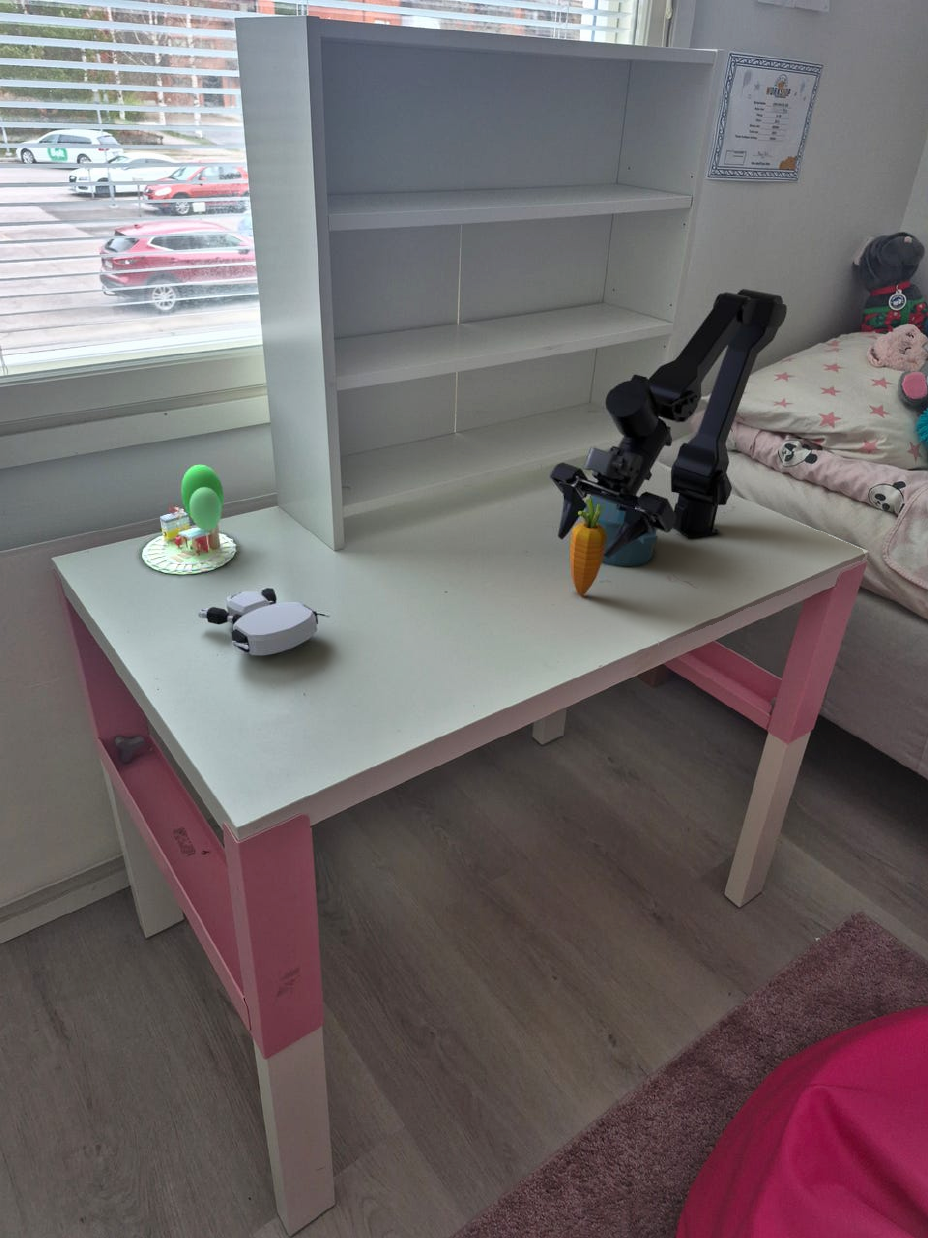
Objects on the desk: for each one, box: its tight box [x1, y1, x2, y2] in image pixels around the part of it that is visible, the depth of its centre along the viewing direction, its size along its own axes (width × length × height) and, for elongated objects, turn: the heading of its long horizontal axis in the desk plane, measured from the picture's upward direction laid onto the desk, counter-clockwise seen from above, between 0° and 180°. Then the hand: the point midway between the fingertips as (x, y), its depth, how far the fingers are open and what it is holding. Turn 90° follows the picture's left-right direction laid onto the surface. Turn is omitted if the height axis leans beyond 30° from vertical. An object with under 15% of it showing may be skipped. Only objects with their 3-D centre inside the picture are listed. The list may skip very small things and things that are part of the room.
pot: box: [583, 494, 658, 567], centre depth 139 cm, size 11×17×7 cm
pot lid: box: [584, 495, 640, 527], centre depth 137 cm, size 12×12×4 cm
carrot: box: [569, 497, 607, 597], centre depth 123 cm, size 5×5×15 cm
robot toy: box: [197, 587, 331, 656], centre depth 113 cm, size 12×4×15 cm
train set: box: [141, 464, 237, 575], centre depth 130 cm, size 15×14×14 cm
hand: (582, 547), depth 122 cm, fingers open, 8 cm apart
